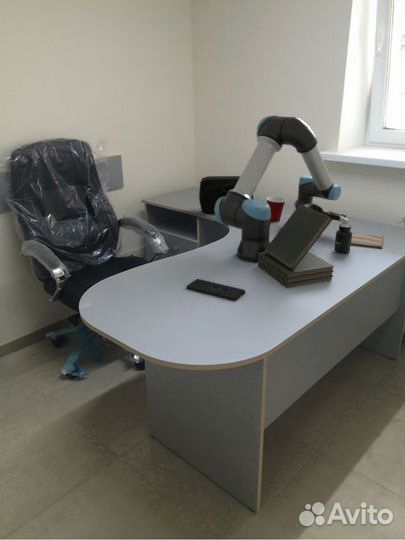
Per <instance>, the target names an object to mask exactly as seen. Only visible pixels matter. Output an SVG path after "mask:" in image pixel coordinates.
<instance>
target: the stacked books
mask: <svg viewBox="0 0 405 540" xmlns="http://www.w3.org/2000/svg"><path fill="white" fill-rule="evenodd" d="M329 217H330V216H327V215H325V214H323V213H320V212H318V211H316V210H313V209H311V208H308V207H306V206H304V205H301V204H300V205H299V206H298V207H297V208H296V209H294V211H293V212H292V214H291V215H290V216H289V218H288V219H287V220H286V222H284V224H283V226H282V227H281V228H280V230H279V231H278V232H277V233H276V235H275V236H274V238H273V239H272V240H271V241H270V244H269V245H268V247H267V248H266V249H265V252H260V253H258V257H259V258H258V262H257V267H258V268H259V269H260V270H262V271H264V272H265V273H266V274H267V275H268V276H270V277H271V278H272V279H274V280H275V281H276V282H278V283H279V284H281V286H283V287H284V288H286V289H290V288H295V287H296V288H297V287H302V286H306V285H308V286H309V285H312V284H319V283H324V282H325V283H326V282H330V281H332V279H333V277H334V275H333V273H334V267H335V265H333V264H331V263H329V262H328V261H326V260H325V259H323V258H321V257H320V256H317V255H316V254H314V253H313V252H310V251H311V248H312V247H313V246H314V245H315V243H316V242H317V241H318V240H319V238H320V236H321V235H323V233H324V231H326V229H327V228H328V226H330V224H331V222H332V221H334V220H333V219H331V218H329Z"/></svg>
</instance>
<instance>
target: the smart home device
mask: <svg viewBox="0 0 405 540" xmlns="http://www.w3.org/2000/svg"><path fill="white" fill-rule="evenodd" d="M185 288H186V289H185V290H188V291H192V292H196V293H199V294H200V293H201V294H204V295H207V296H211V297H215V298H220V299H223V300H228V301H232V302H237V301H238V300H239V299H240V298H242V296H244V295H245V294H246V290H245V289H243V288H239V287H235V286H230V285H227V284H222V283H217V282H214V281H209V280H205V279H200V278H195V280H193V281H192V282H190V283H189V284H186V287H185Z"/></svg>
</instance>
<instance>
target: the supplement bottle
mask: <svg viewBox="0 0 405 540" xmlns="http://www.w3.org/2000/svg"><path fill="white" fill-rule="evenodd" d="M351 227H352V225H351V224H350V223H348V224H342V223H340V224H339V227H338V230H337V231H335V238H334V244H333V246H334V247H333V250H334V252H335V253H338V254H349V253H350V251H351V246H352V245H351V240H352V233H353V232H352V231H351V230H352V228H351Z"/></svg>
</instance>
